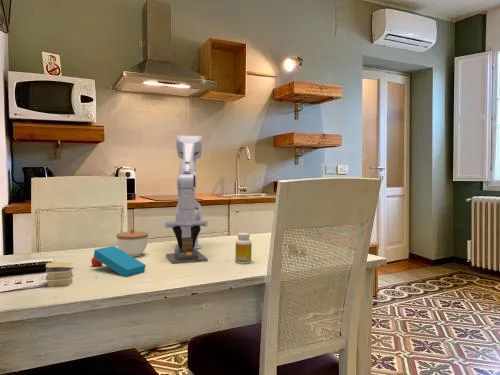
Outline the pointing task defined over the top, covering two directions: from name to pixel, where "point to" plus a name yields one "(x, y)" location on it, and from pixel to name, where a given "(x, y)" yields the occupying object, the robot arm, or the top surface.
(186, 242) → the column
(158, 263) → the top surface
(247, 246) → the supplement bottle
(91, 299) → the top surface
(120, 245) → the lidded jar
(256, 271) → the top surface
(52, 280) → the stacked layers on plate
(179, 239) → the robot arm
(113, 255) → the lever
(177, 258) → the socket
